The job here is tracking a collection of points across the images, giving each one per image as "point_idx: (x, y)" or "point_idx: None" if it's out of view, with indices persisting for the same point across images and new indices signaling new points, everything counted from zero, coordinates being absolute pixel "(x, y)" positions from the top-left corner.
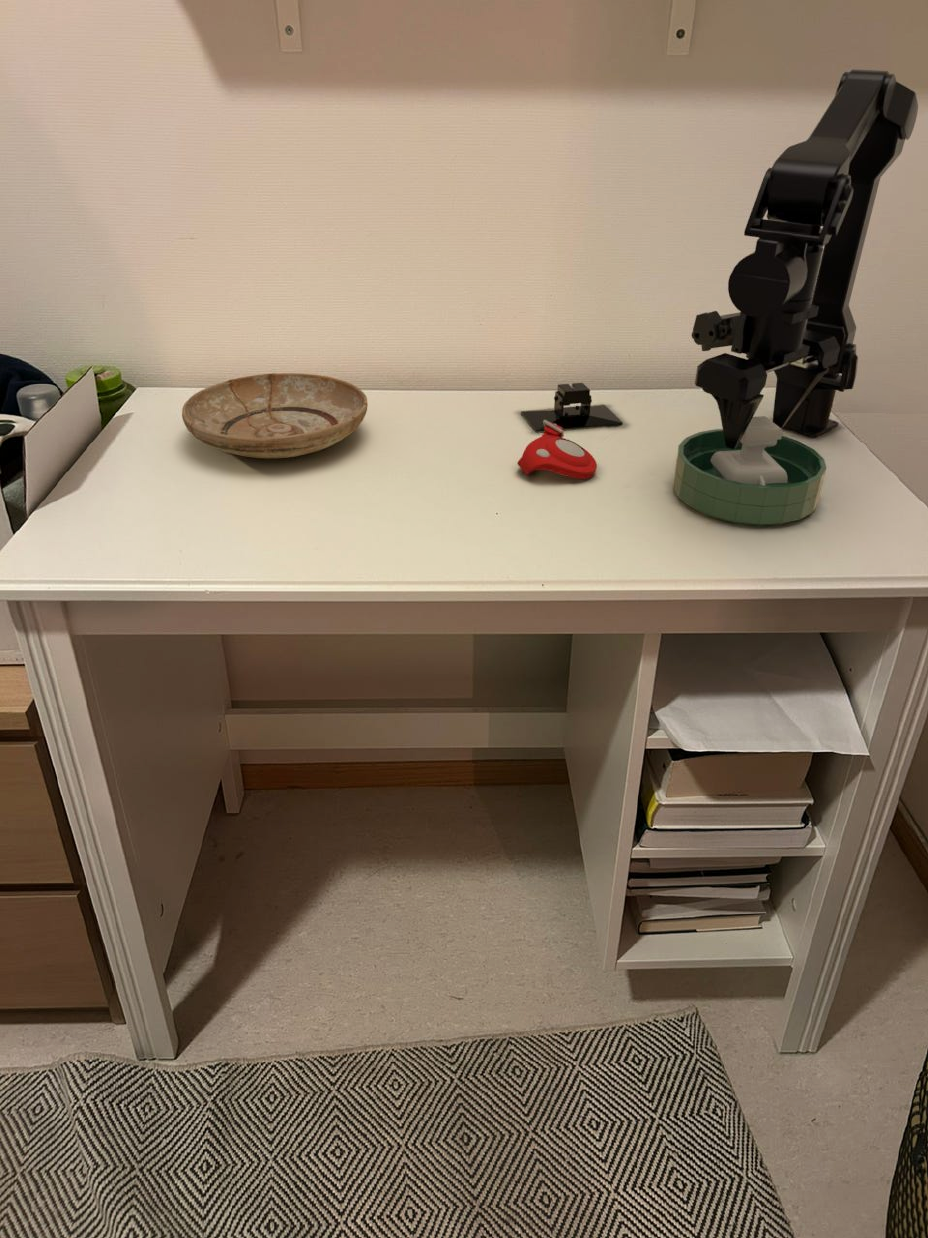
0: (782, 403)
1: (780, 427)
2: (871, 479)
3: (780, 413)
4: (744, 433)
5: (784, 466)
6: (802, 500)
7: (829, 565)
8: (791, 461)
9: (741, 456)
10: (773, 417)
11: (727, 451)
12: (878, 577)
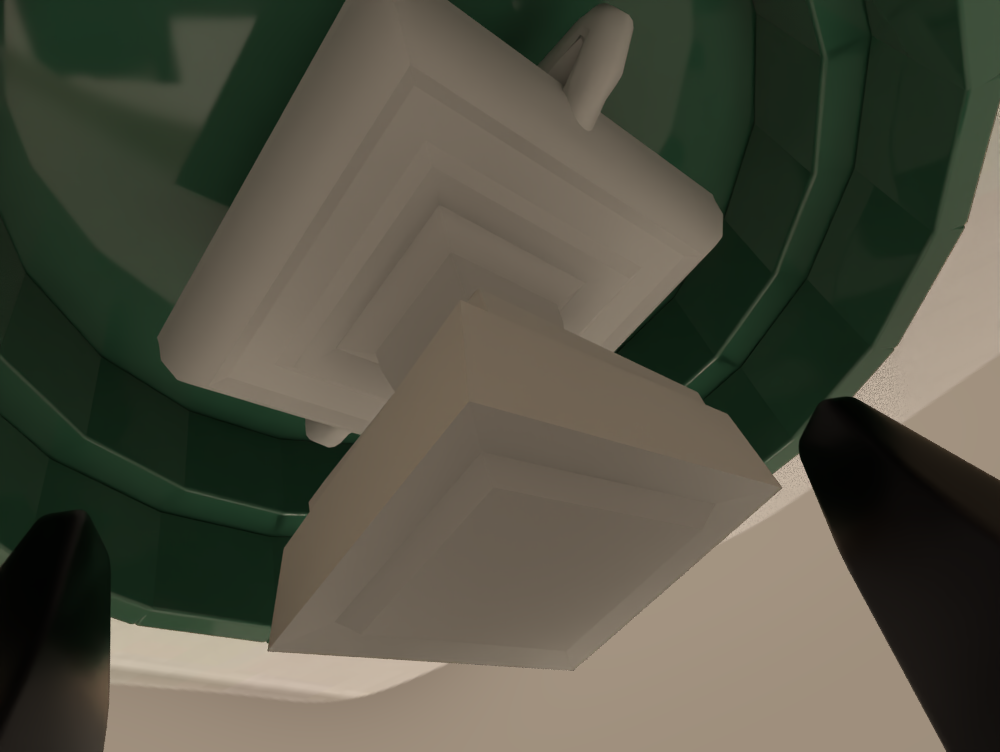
0: (959, 603)
1: (801, 453)
2: (922, 367)
3: (883, 527)
4: (285, 597)
5: (760, 240)
6: None
7: (192, 634)
8: (779, 288)
9: (425, 288)
10: (870, 446)
11: (472, 117)
12: (267, 688)
